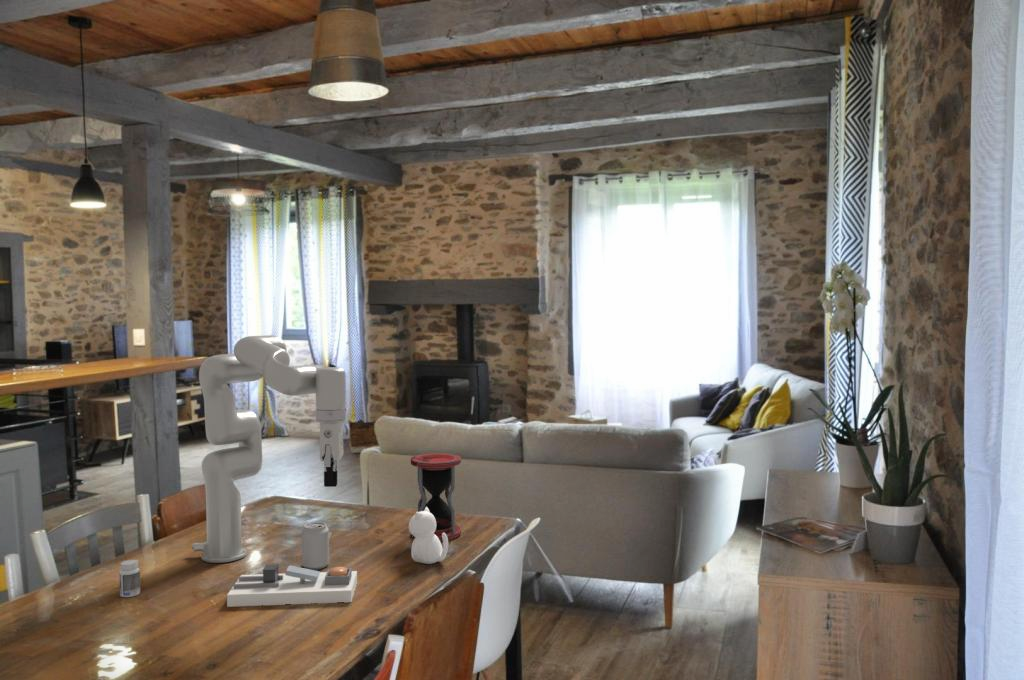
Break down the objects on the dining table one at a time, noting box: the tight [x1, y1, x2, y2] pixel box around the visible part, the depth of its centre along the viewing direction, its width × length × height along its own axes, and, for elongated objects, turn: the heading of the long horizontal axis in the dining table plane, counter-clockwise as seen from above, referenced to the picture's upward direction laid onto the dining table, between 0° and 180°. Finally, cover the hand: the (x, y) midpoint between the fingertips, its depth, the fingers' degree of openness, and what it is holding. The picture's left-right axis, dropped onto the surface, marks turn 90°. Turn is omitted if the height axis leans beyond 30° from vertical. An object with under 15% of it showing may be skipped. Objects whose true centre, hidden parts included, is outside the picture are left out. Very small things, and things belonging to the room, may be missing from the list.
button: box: [329, 566, 348, 576], centre depth 198 cm, size 4×4×2 cm
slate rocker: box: [284, 565, 321, 581], centre depth 197 cm, size 8×4×1 cm, turn 96°
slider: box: [262, 563, 280, 583], centre depth 196 cm, size 3×4×4 cm
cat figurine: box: [408, 507, 449, 565], centre depth 222 cm, size 9×12×15 cm
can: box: [301, 521, 330, 571], centre depth 218 cm, size 8×8×12 cm
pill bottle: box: [118, 559, 141, 598], centre depth 197 cm, size 5×5×8 cm
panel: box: [226, 567, 358, 608], centre depth 197 cm, size 30×14×5 cm, turn 96°
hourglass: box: [410, 452, 462, 542], centre depth 248 cm, size 16×16×25 cm
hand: (330, 485), depth 199 cm, fingers closed
